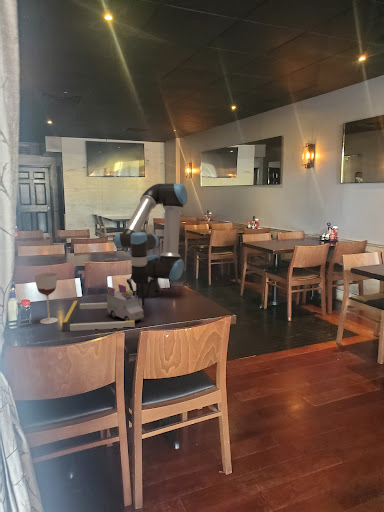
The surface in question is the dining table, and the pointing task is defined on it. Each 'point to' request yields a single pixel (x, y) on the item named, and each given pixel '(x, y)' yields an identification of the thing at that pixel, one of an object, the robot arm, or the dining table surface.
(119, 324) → the dock
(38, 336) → the dining table surface
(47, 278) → the wineglass
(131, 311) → the toy vehicle
